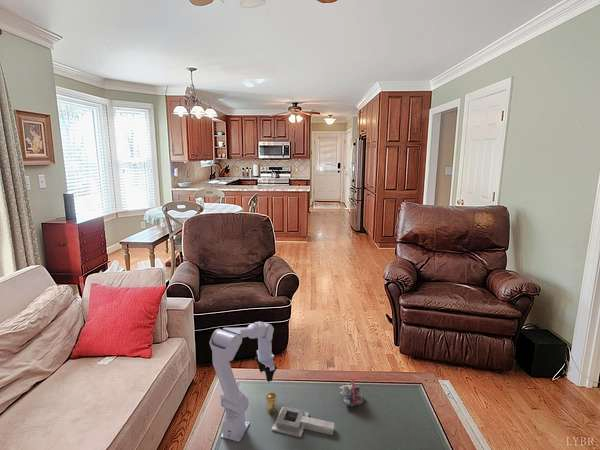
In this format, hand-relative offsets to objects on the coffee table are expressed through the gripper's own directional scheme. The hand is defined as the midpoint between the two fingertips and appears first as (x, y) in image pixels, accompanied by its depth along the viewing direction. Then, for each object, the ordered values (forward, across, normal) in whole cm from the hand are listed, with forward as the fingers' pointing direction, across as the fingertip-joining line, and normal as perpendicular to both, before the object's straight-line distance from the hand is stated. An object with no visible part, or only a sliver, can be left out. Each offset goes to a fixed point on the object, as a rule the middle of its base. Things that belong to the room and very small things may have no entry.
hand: (266, 375), depth 155 cm
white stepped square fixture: (+10, -23, -6) cm, 26 cm away
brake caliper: (+10, -22, -31) cm, 39 cm away
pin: (+10, -9, +2) cm, 14 cm away
